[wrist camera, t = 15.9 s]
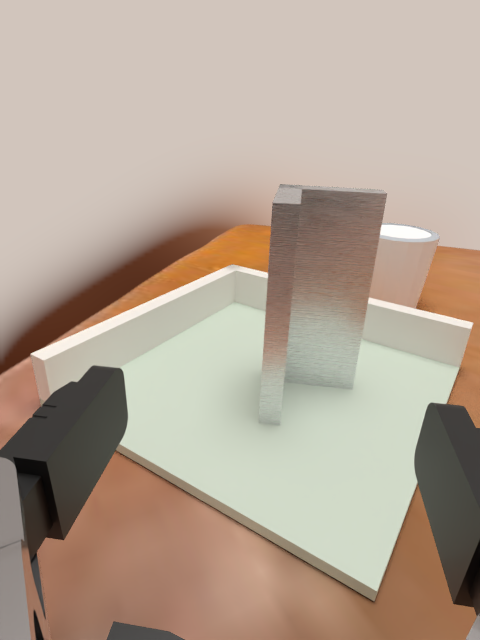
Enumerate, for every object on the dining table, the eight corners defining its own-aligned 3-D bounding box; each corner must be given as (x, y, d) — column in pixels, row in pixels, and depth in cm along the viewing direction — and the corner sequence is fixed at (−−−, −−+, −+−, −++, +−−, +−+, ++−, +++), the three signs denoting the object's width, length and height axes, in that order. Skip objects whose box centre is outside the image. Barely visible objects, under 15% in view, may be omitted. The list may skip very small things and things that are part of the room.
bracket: (267, 370, 29) (280, 184, 24) (350, 379, 28) (383, 189, 23) (258, 422, 24) (272, 202, 19) (359, 435, 23) (403, 210, 18)
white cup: (345, 286, 45) (354, 220, 42) (411, 290, 45) (426, 223, 42) (354, 314, 39) (367, 238, 36) (432, 319, 38) (452, 242, 35)
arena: (231, 300, 41) (232, 264, 39) (459, 367, 31) (473, 322, 30) (41, 406, 25) (30, 353, 24) (374, 601, 16) (392, 534, 14)
